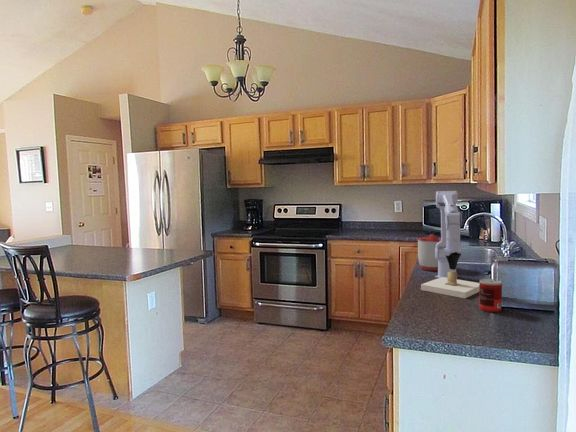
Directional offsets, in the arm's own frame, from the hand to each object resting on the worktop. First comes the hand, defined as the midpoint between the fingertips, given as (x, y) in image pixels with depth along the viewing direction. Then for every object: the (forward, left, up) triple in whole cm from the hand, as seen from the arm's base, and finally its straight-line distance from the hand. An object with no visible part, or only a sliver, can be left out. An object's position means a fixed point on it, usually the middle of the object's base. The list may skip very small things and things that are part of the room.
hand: (452, 269), depth 182 cm
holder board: (0, 0, -9) cm, 9 cm away
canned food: (+18, +23, -10) cm, 31 cm away
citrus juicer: (-35, -28, -10) cm, 46 cm away
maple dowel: (0, 0, -9) cm, 9 cm away
